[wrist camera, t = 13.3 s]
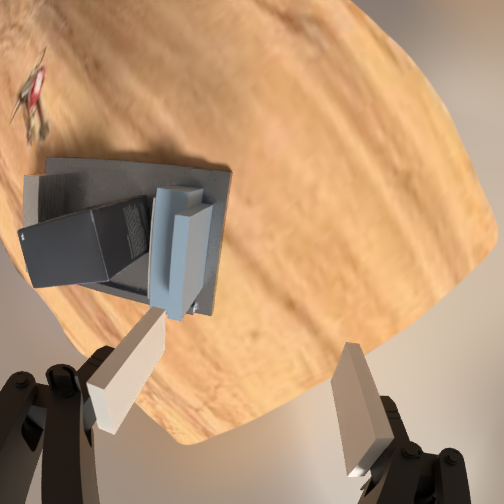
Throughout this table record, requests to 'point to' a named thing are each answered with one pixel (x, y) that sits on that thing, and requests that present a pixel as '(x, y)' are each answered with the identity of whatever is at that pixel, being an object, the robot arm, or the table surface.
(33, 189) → the vise
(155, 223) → the sliding jaw
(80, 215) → the small box
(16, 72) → the table surface
